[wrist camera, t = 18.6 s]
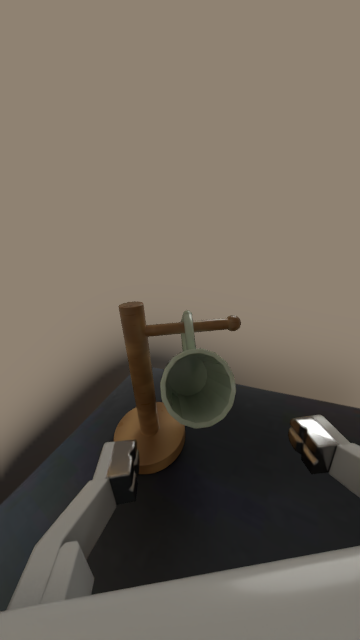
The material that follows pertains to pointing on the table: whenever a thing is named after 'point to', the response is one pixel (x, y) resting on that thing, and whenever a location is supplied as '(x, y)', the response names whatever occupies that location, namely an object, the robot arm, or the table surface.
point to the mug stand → (150, 416)
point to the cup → (197, 383)
